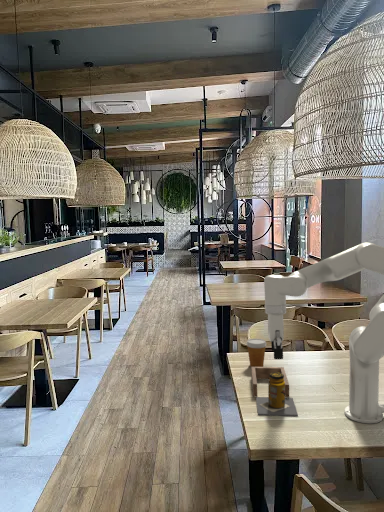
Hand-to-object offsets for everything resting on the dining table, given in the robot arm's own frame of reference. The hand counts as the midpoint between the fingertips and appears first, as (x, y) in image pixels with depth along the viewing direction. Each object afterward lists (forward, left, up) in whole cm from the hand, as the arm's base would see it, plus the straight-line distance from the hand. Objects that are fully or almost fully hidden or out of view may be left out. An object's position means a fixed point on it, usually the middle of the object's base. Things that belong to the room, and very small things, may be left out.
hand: (277, 354), depth 153 cm
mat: (+1, 0, -20) cm, 20 cm away
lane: (+2, -18, -20) cm, 27 cm away
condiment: (+1, 0, -20) cm, 20 cm away
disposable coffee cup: (+6, -44, -20) cm, 49 cm away
